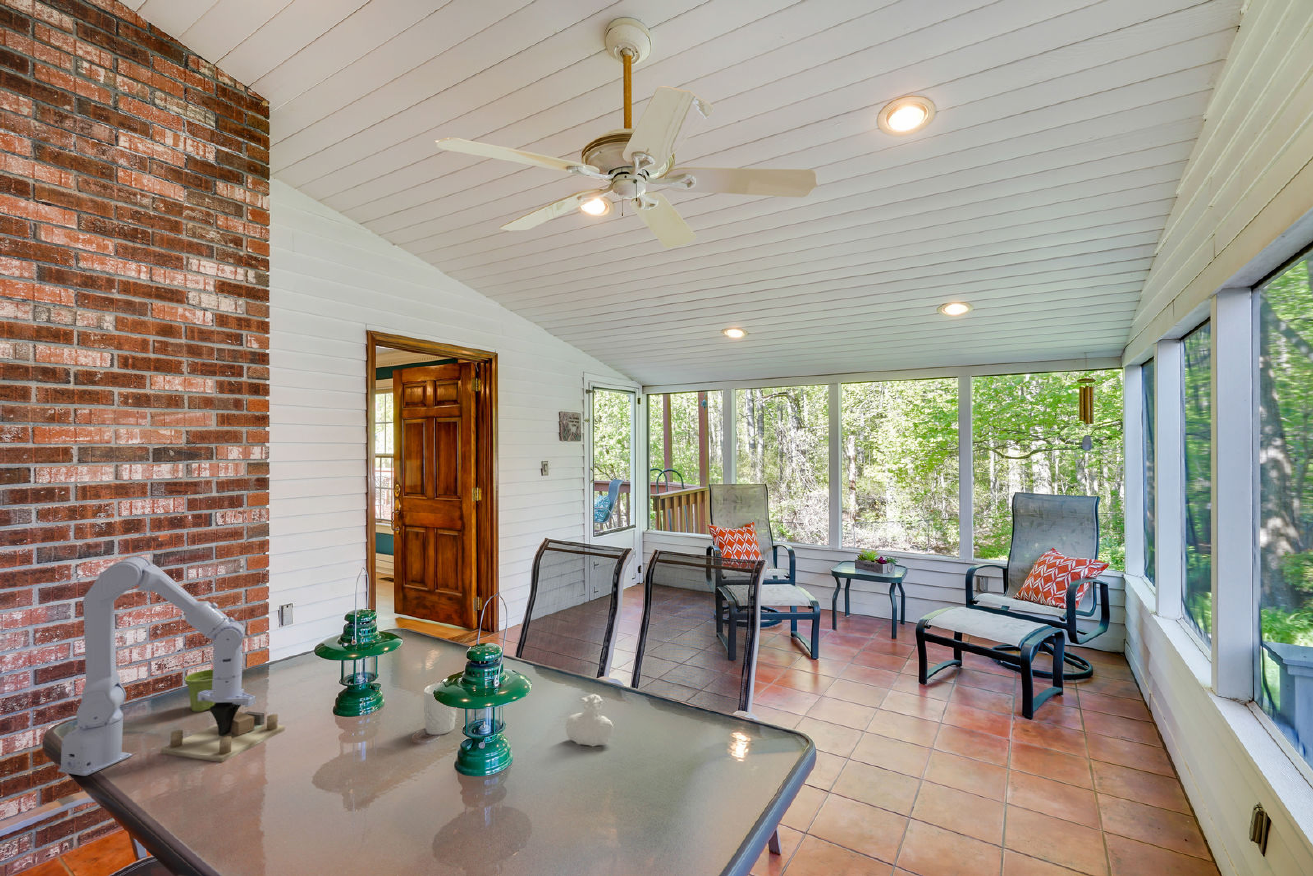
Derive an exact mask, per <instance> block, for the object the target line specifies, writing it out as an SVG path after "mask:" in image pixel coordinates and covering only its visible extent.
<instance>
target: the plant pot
mask: <svg viewBox="0 0 1313 876" xmlns="http://www.w3.org/2000/svg"><path fill="white" fill-rule="evenodd" d="M184 681H185V682H186V685H187V687H188V693H189V694H188V695H189V701H190V708H191V710H192V712H204V711H206V710H210V707H211V706H214V704H215V702H212V701H205V700H203V701H198V693H199V692H202V691H204V690H212V682H213V668H210V669H205V670H200V671H196V672H193V673H190V674H188V675H186V676H185V677H184Z"/></svg>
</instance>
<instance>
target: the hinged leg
mask: <svg viewBox="0 0 1313 876" xmlns="http://www.w3.org/2000/svg"><path fill="white" fill-rule="evenodd" d="M251 730H254V717H253V716H250V715H248V714H245V712H242V711H239V710H238V711H237V712H236V714H235V716H234V719H233V721H232V726H231V731H230V732H232V733H234V734H237V735H240V734H243V733H246V732H249V731H251Z"/></svg>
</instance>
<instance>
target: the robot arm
mask: <svg viewBox="0 0 1313 876" xmlns="http://www.w3.org/2000/svg"><path fill="white" fill-rule="evenodd" d="M136 586H138V587H137V589H136V591H138V592H155V593H156V594H157V595H159V596H160V597H162V598H163V599H165V600H166V601H167V602H169V603H170V604H172V605H173V606H175V607H176V608H177V609H179V610H181V611H182V612H184V614H185V617H184V621H185V622H186V623H187V624H188V625H190V626H191V627H192V628H193V629H195V630H196V631H198V632H199V633H201V634H202V635H203V636H204V637H206V639H207V638H208V639H210V640H212V641H211V644H212V647H213V648H214V656H213V663H212V664H213V666H212V669H213V682H212V690H204V691H202V692H199V693H198V701H203V700H205V701H212V702H215V704H214V706H211V707H210V709H209V711H210V713H211V714H212V716H213V718H214V720H215V722H216V724H217V725H218V733H219V736H224V735H226V734H228V733H230V731H231V726H232V721H233V719H234V716H235V714H236V712H237V711H239V709H240V707H242V706H244V707H245V708H249V707H251V706H254V705H256V699H257V698H256V697H257V696H256V695H252V694H249V693H247V692H245V689H244V688H242V683H243V681H242V680H243V679H242V678H243V677H242V676H243V661H244V660H243V659H244V654H243V651H244V649H243V648H244V647H243V642H244V638H245V634H246V629H245V627H244V625H243V624H242V623H241V621H238V620H235V618H234V617H232V616H230V617H228V616H227V615H226V614H225V613H224V612H222V611H221V610H220V609H218V607H219V605H218V604H217V603H216V601H215V602H212V603H211V602H210V601H209V600H202V601H200V600H199V601H198V599H197V598H195V597H193V596H192V595H191V594H190V593H189V592H188V591H187V590H186V589H184V587H182V586H181V585H180V584H178V583H177V582H176V580H174V579H173V578H172V577H170V576H169V575H168V574H167V573H166V572H164V571H163V570H162V569H161V568H160V567H159V566H157V565H156V564H154V563H151V562H150V561H149V560H148V559H147V558H146V557H143V556H141V555H140V556H139V555H132V556H128V557H126V558H123V559H122V560H120V561H118V562H115V563H113V564H112V565H110V566H109V567H107V568H106V569H105V570H103V571H101V572H100V573H99V575H98V577H97V578H96V580H95V581H94V583H93V584H92V585H91V586H90V588H89V589H88V591H87V592H86V594H85V595H84V596H83V602H82V604H83V605H82V606H83V608H82V609H83V631H84V632H83V633H84V661H85V684H84V687H83V689H82V692H81V702H80V704H79V706H78V708H77V711H76V719H77V721H78V726H77V727H76V728H75V729H73V730H72V731H69V732H68V733H66V734H65V735H64V736H63V738H62V741H61V750H60V751H61V752H60V753H61V756H60V768H59V769H57V772H58V773H63V774H68V775H69V774H70V775H75V776H76V775H77V776H81V777H87V776H89V775H91V774H93V773H97V772H98V771H100V770H103V769H106V768H108V767H110V766H112V765H114V764H116V763H119V762H121V761H124V760H126V759H127V758H128V759H129V758H130V757H132V756H133V753H130V752H124V751H122V750H123V734H124V733H123V730H124V725H123V724H124V713H123V711H122V710H121V708H120V707H122V705H123V704H124V702H125V701H126V699H127V692H126V690H125V688H124V687H123V686H122V684H121V677H120V676H121V675H119V673H118V671H117V648H116V646H117V645H116V625H115V624H116V621H115V620H116V618H115V617H116V616H115V601H116V600H117V599H118V598H120V597H121V596H122V595H124V594H125V593H126V592H127V591H129V590H131V589H133V588H134V587H136Z"/></svg>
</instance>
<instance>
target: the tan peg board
mask: <svg viewBox="0 0 1313 876" xmlns="http://www.w3.org/2000/svg"><path fill="white" fill-rule="evenodd" d="M244 713H245V714H248V715H250V716H253V717H254V730H251V731H249V732H246V733H243V734H240V735H237V734H234V733H232V732H230V733H228V734H226V735H224V736H219V733H218V725H217V723H216V724H213V725H211V726H209V727H207V728H204V729H202V730H201V731H198V732H196V733H193V734H192V735H189V736H187V737H183V736H184V731H183V730H182V729H177V730H174V731H171V732H170V740H169V741H170V744H169V745H167V746H164V747H162V748H160V754H161V755H170V756H176V757H177V756H178V757H184V758H190V759H196V760H197V759H198V760H204V761H205V760H206V761H212V762H219V763H223V762H225V761H227V760H229V759H231V758H234V757H236V756H237V755H239V754H241V753H243V752H245V751H247V750H249V749H251V748H253V747H255V746H257V745H259V744H260V743H263V742H264V741H266V740H268V739H270V738H272V737H274V736H276V735H278V734H279V733H281V732H284V731H285V730H286V725H283V724H278V717H279V715H278V714H277V713H274V714H270V715H267V716H266V723H265V713H264V712H257V711H256V712H255V711H245V712H244Z"/></svg>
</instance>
